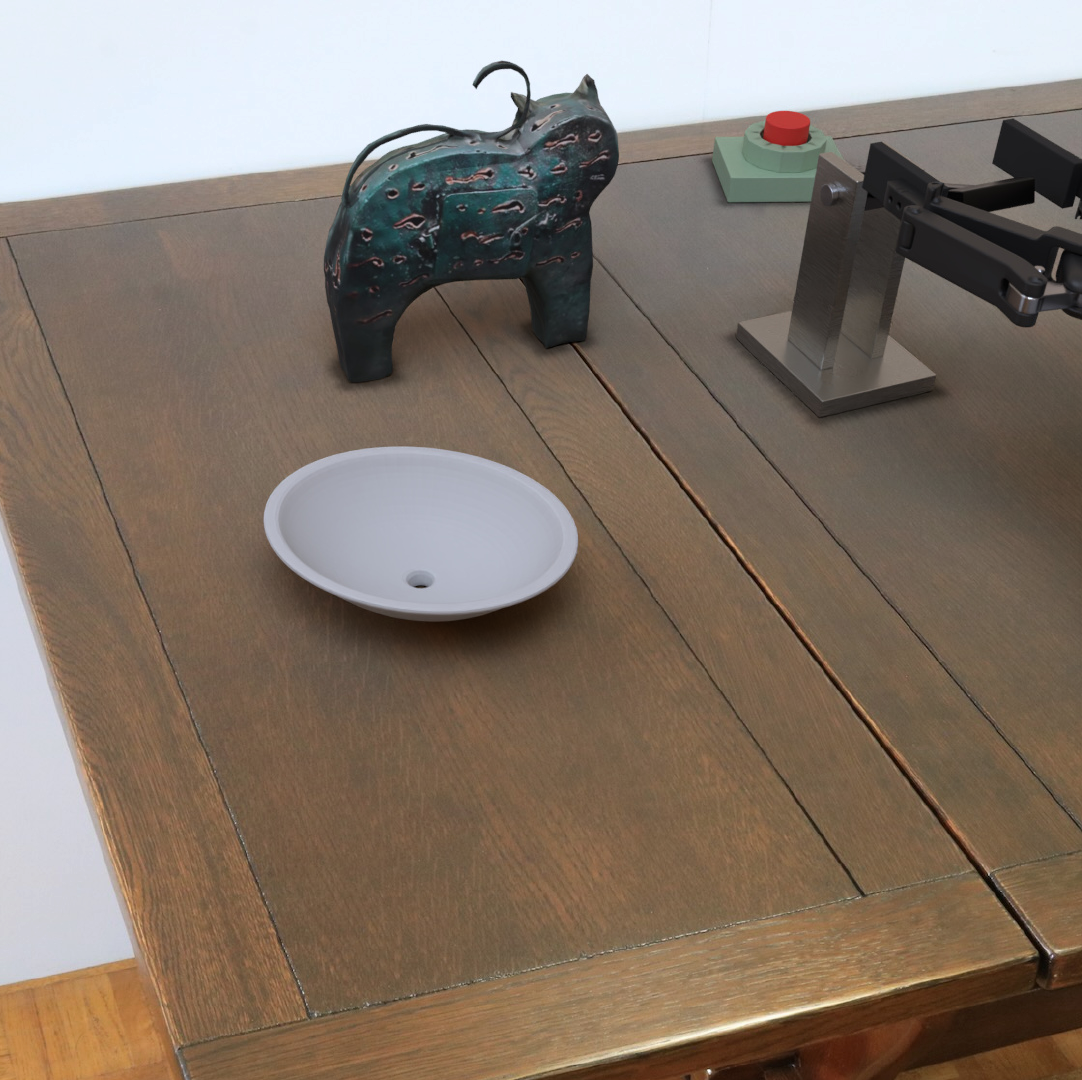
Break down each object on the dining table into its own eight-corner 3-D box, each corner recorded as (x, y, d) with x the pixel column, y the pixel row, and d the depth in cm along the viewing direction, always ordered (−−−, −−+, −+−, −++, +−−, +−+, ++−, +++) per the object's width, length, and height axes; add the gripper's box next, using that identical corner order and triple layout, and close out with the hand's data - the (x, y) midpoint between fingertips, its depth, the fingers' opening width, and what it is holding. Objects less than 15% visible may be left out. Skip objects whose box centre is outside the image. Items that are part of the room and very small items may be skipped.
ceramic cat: (583, 307, 111) (602, 32, 98) (620, 351, 106) (645, 68, 93) (321, 354, 106) (304, 69, 93) (348, 402, 101) (334, 109, 88)
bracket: (932, 391, 103) (983, 185, 93) (819, 418, 100) (859, 209, 91) (843, 314, 111) (881, 117, 101) (735, 337, 108) (764, 137, 98)
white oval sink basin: (223, 633, 84) (214, 563, 80) (331, 489, 94) (327, 421, 90) (526, 714, 79) (530, 643, 76) (605, 554, 89) (611, 484, 86)
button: (802, 130, 127) (805, 110, 125) (811, 148, 124) (814, 128, 123) (759, 130, 126) (762, 110, 125) (767, 149, 124) (770, 128, 123)
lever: (1035, 211, 87) (1035, 168, 86) (962, 226, 85) (962, 182, 85) (886, 199, 99) (885, 161, 99) (821, 212, 98) (819, 173, 97)
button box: (827, 160, 131) (835, 115, 128) (848, 201, 125) (857, 155, 122) (711, 161, 130) (717, 115, 128) (727, 202, 124) (733, 156, 122)
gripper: (1016, 445, 73) (772, 241, 89) (1350, 361, 80) (1067, 184, 95) (1057, 307, 68) (791, 117, 84) (1410, 229, 75) (1101, 65, 90)
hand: (938, 152), depth 90 cm, fingers open, 9 cm apart
